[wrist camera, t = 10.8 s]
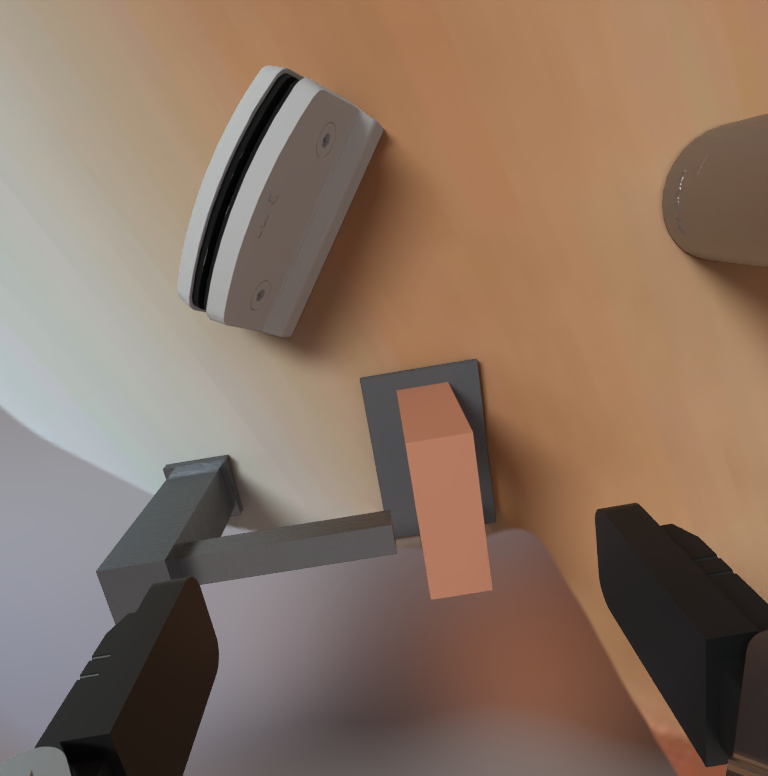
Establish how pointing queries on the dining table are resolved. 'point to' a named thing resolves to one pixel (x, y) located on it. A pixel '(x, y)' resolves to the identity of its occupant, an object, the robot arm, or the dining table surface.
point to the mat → (392, 443)
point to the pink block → (445, 490)
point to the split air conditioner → (274, 202)
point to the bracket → (223, 538)
